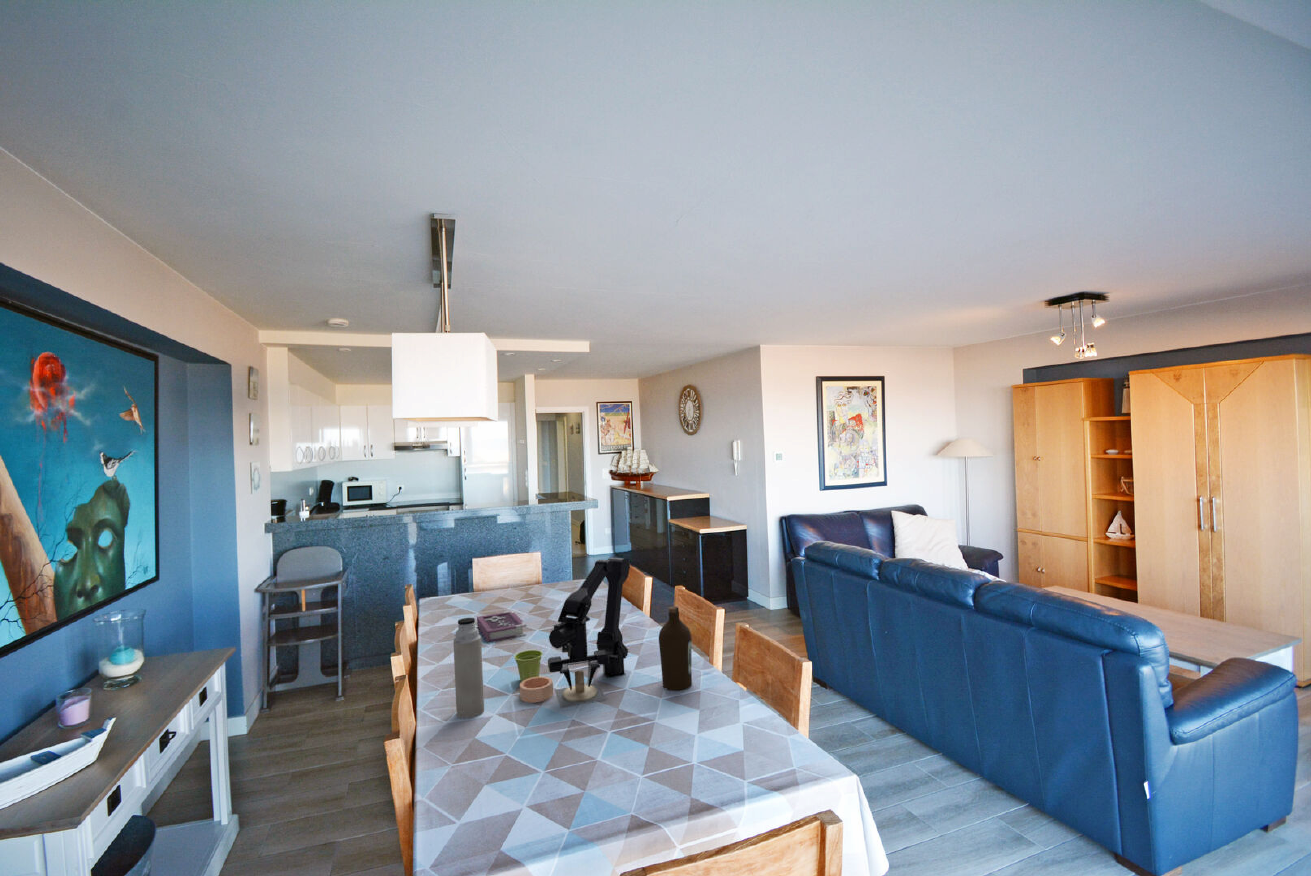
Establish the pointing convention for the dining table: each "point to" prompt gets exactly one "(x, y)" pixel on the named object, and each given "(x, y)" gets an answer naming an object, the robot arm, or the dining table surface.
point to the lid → (579, 689)
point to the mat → (566, 703)
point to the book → (501, 626)
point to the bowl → (536, 689)
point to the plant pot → (528, 663)
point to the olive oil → (675, 653)
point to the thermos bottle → (468, 670)
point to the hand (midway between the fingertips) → (579, 688)
